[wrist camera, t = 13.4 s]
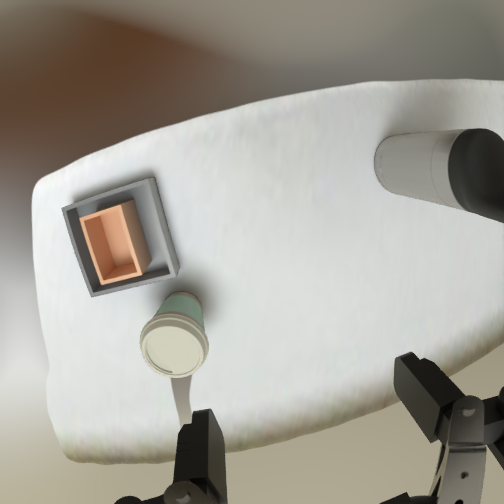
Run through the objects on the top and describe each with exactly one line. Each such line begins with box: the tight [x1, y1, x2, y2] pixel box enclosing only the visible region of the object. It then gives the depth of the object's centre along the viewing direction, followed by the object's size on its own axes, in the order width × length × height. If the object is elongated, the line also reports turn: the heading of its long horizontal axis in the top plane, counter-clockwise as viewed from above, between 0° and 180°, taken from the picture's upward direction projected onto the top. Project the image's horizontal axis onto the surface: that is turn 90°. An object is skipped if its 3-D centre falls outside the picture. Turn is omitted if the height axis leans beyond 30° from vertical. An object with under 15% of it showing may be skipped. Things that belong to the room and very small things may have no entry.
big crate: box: [62, 177, 180, 297], centre depth 40 cm, size 13×13×4 cm
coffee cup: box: [140, 292, 209, 378], centre depth 40 cm, size 8×8×12 cm
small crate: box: [79, 199, 152, 285], centre depth 38 cm, size 6×9×6 cm, turn 13°
